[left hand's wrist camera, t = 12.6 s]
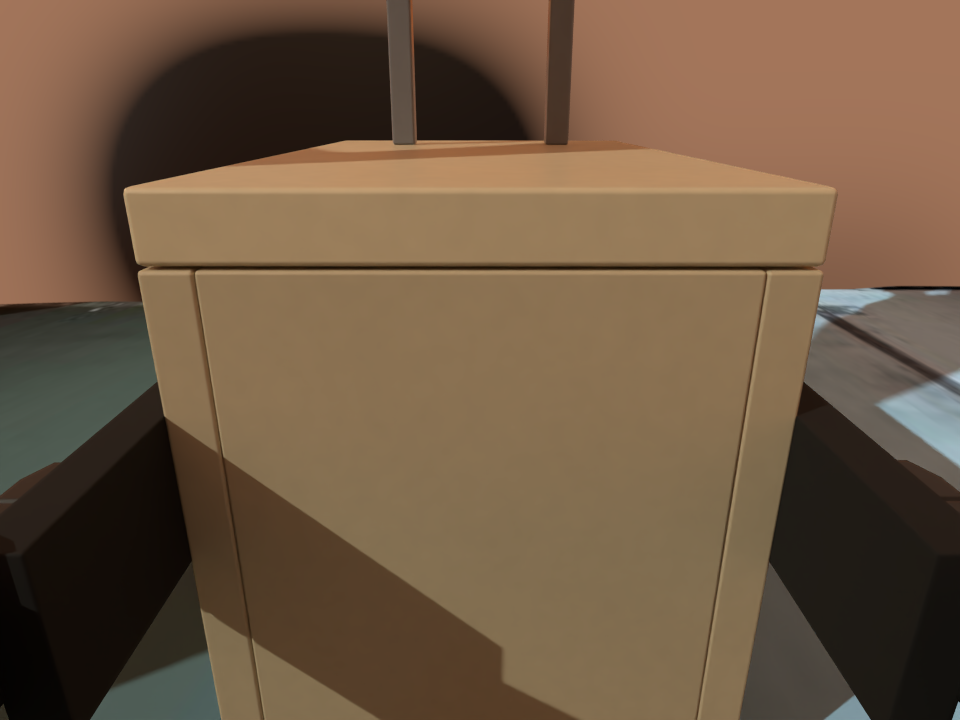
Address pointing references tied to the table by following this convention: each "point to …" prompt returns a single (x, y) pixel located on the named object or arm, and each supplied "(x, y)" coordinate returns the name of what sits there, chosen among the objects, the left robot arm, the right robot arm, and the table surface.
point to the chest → (480, 482)
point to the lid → (480, 197)
